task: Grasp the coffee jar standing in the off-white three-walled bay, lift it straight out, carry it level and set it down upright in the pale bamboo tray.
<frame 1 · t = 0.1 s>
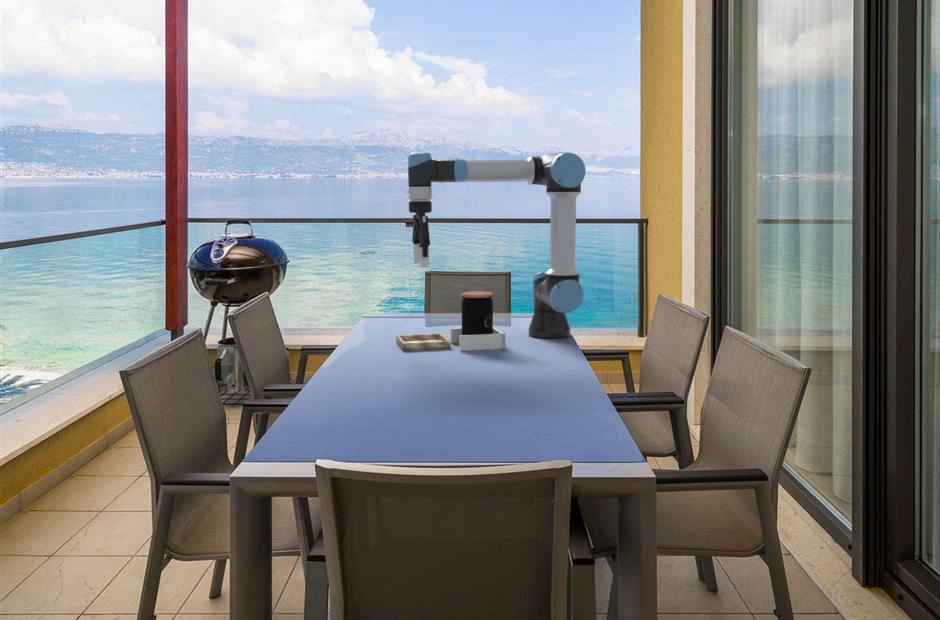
hand: (421, 265, 281), 28 cm above the table, fingers open, 13 cm apart
bay: (477, 345, 289), on the table
tray: (422, 345, 290), on the table
coffee jar: (477, 346, 290), on the table
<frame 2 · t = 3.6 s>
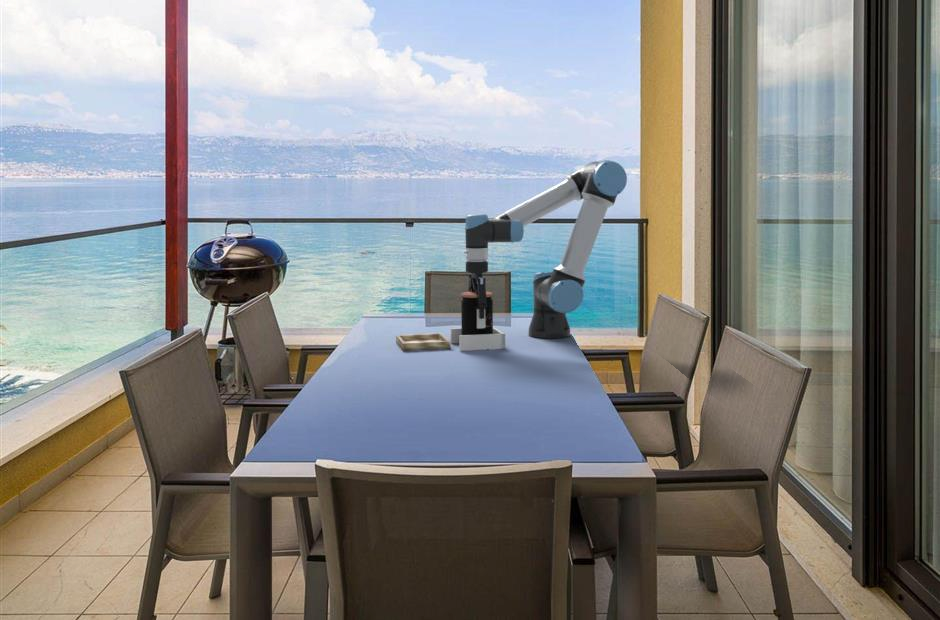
hand: (477, 325, 288), 7 cm above the table, fingers closed on coffee jar, 11 cm apart
coffee jar: (477, 346, 290), on the table, touching gripper
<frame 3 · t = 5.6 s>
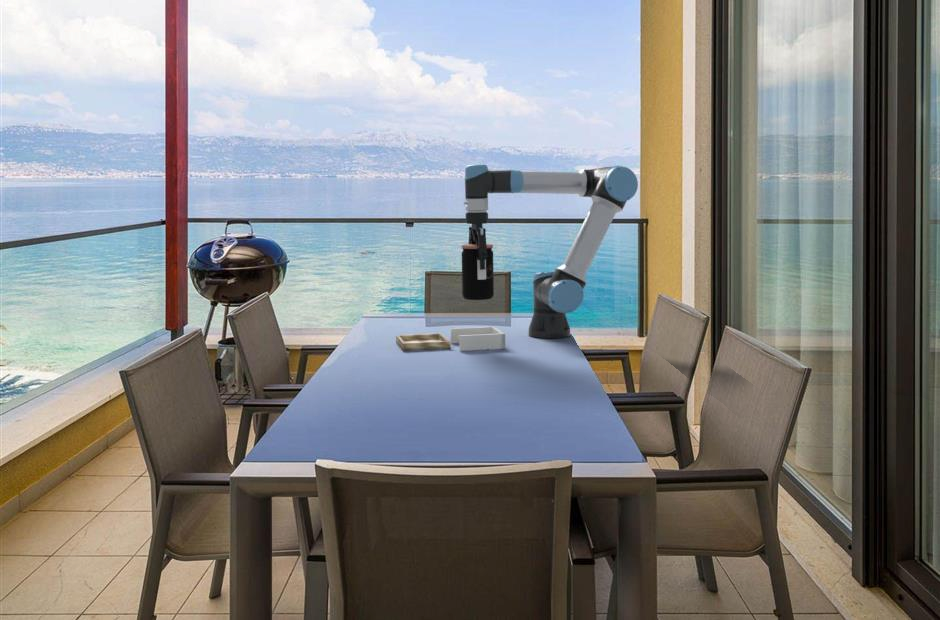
hand: (477, 277, 286), 23 cm above the table, fingers closed on coffee jar, 11 cm apart
coffee jar: (478, 298, 287), point 16 cm above the table, touching gripper
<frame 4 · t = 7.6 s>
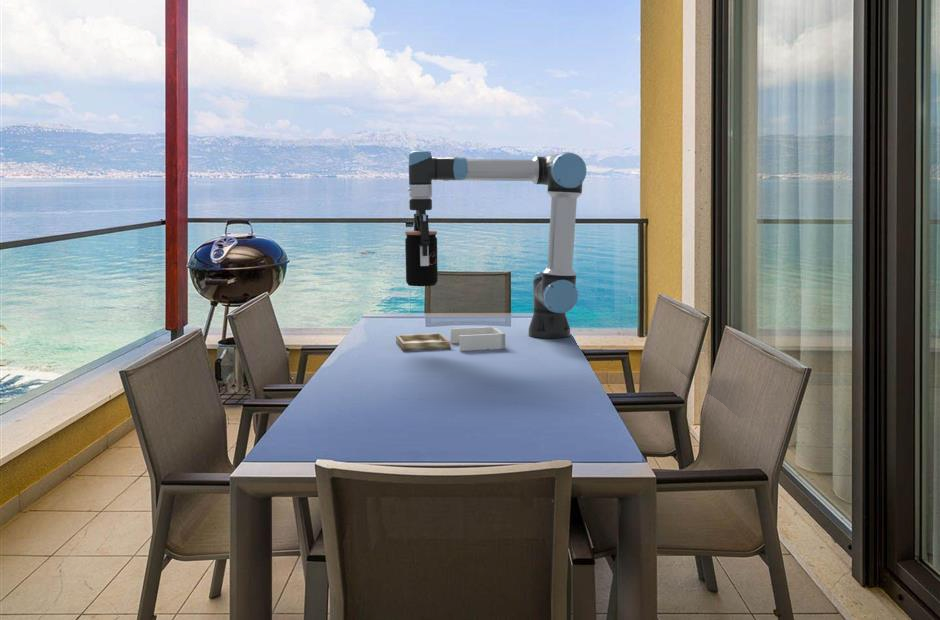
hand: (421, 264, 286), 28 cm above the table, fingers closed on coffee jar, 11 cm apart
coffee jar: (421, 285, 287), point 21 cm above the table, touching gripper
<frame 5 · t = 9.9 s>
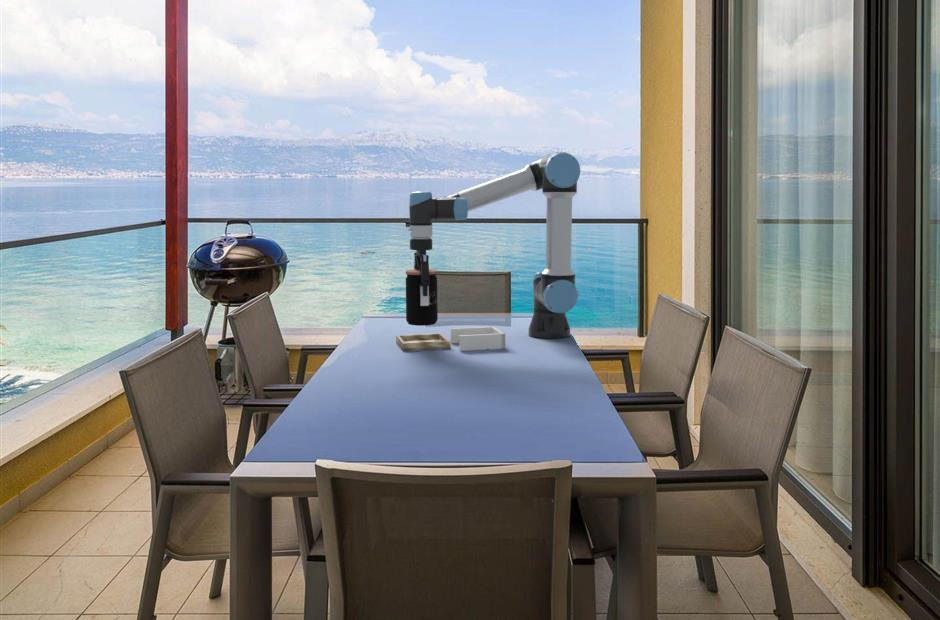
hand: (421, 303, 288), 15 cm above the table, fingers closed on coffee jar, 11 cm apart
coffee jar: (422, 324, 289), point 7 cm above the table, touching gripper
when the fingers open (9 cm above the table, at t = 11.7 s): coffee jar drops 1 cm, resting on tray.
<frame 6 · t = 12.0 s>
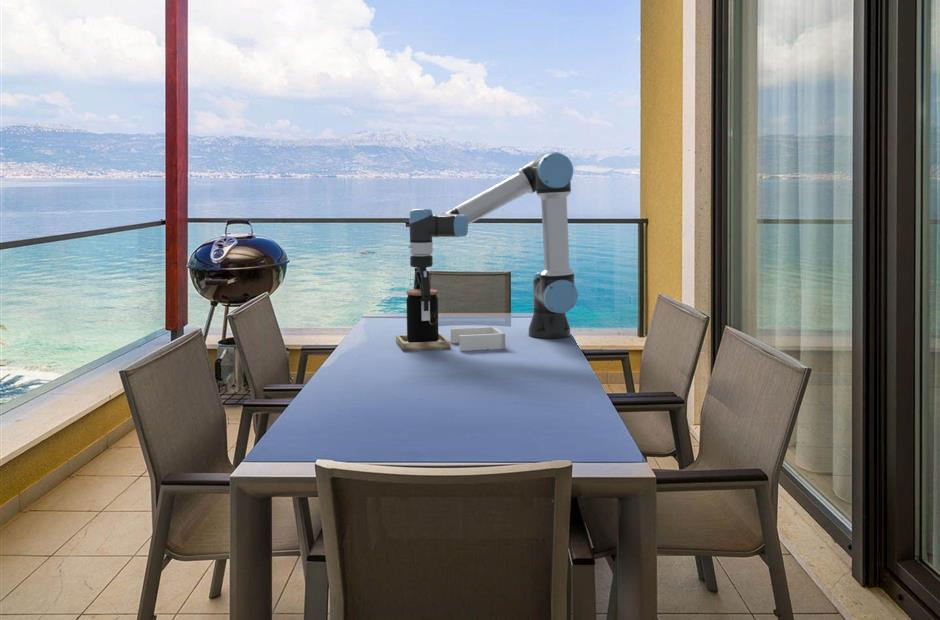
hand: (422, 317, 289), 10 cm above the table, fingers open, 13 cm apart
coffee jar: (422, 343, 290), point 1 cm above the table, touching tray
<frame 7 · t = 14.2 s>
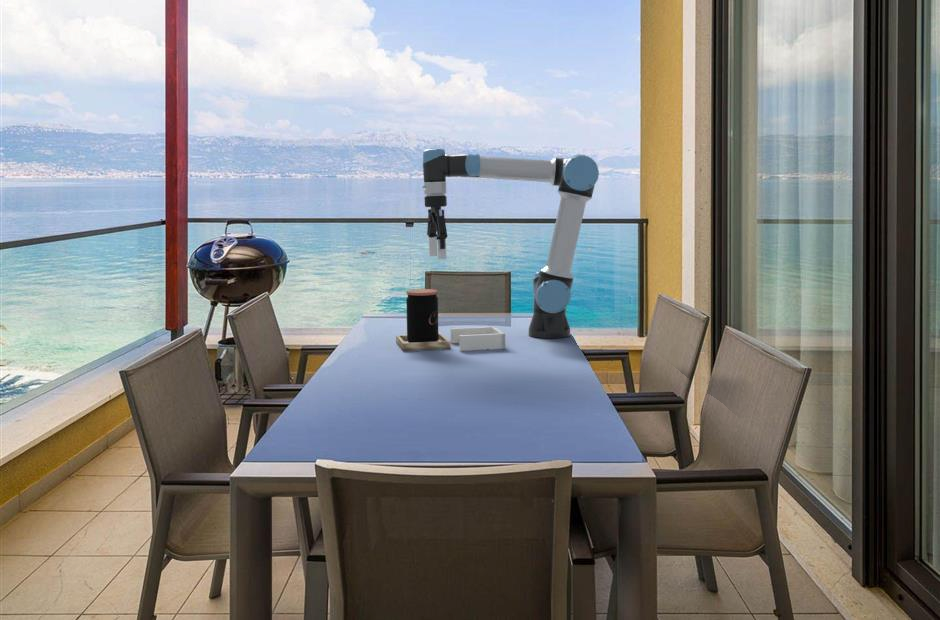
hand: (437, 257, 292), 30 cm above the table, fingers open, 13 cm apart
nothing on the table moved.
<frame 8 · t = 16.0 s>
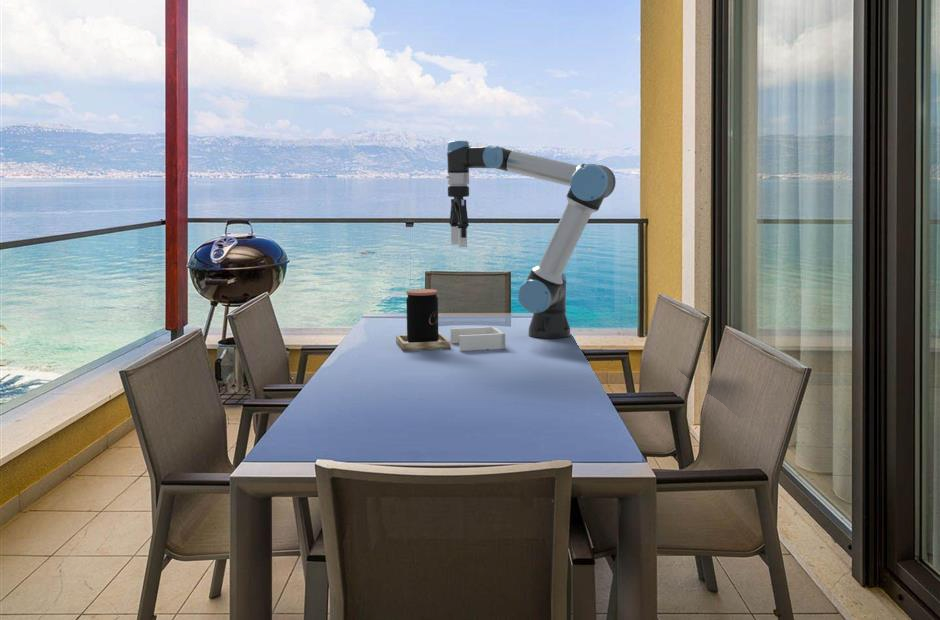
hand: (458, 245, 303), 33 cm above the table, fingers open, 13 cm apart
nothing on the table moved.
at the end: coffee jar inside the target area on the tray (0.1 cm from its centre), point 0.6 cm above the tray's base; coffee jar tilted 0°; the gripper is holding nothing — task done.
